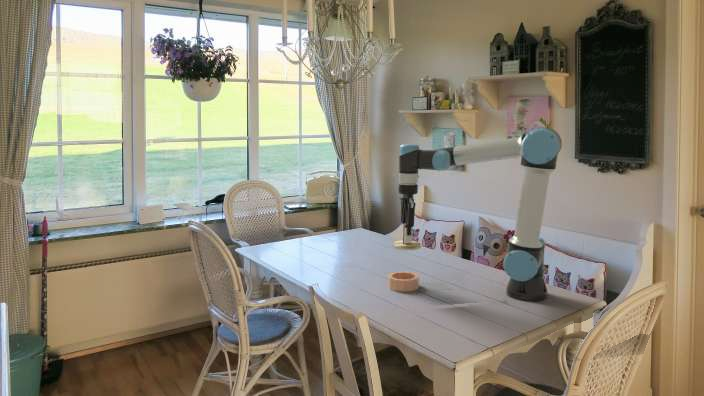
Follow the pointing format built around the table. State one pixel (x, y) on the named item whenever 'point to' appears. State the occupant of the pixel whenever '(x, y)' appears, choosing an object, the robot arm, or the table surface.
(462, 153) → the robot arm
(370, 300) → the table surface
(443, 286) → the mat
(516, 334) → the table surface
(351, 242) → the table surface
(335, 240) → the table surface
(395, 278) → the bowl
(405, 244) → the lid
